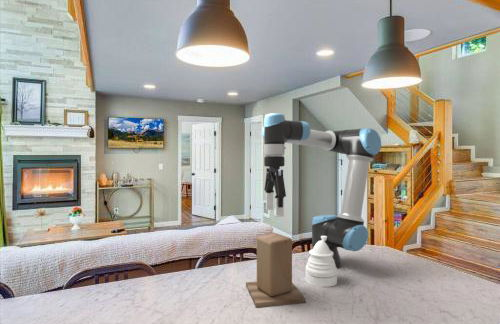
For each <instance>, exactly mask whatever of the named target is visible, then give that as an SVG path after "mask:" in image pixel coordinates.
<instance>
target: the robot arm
mask: <svg viewBox="0 0 500 324" xmlns="http://www.w3.org/2000/svg"><path fill="white" fill-rule="evenodd" d="M261 136H262V139H263V140H264V143H263V155H265V156H264V158H263V159H264V160H263V164H264V166H265V167H266V175H265V182H264V191H265V210H266V211H270V210H272V211H273V210H274V199H275V217H284V216H285V215H284V212H285V209H284V208H285V207H284V204H285V202H284V200H285V198H286V197H287V193H286V187H285V179H284V170H283V169H281V167H284V166H285V162H286V161H285V156H284V155H285V150H286V146H285V143H286V144H292V145H299V146H307V147H314V148H321V149H322V150H324V151H327V152H333V153H336V154H337V153H338V154H343V155H345V157H346V158H347V160H348V166H347V173H346V176H345V185H344V191H343V196H342V197H343V198H342V203H341V205H342V206H341V212H340V213H339V214H338V215H335V214H321V215H316V216H314V217H312V221H311V222H312V224H311V243H312V244H311V249H313V247H314V246H315V244H316V243H317V242H318V241H320V240H322V239H321V236H327V239H326V241H324V242H325V243H326V244H327V245H328V247H329V249H330V251H332V252H333V253H334V254H333V256H332V257H333V259H334V261H335V265H336V268H337V269H338V268H340V267H341V266H342V259H341V256H340V254H339V249H338V248H341V249H344V250H346V251H351V252H358V251H360V250H362V249H363V247H365V245H366V243H367V241H368V238H369V232H368V228H367V227H366V226H365V225H364V224H365V220H364V218H363V217H362V212H363V204H364V201H365V199H364V198H365V194H366V193H365V192H366V188H367V187H366V186H367V185H366V184H367V179H368V172H369V166H370V165H369V164H370V163H372V162H373V160H374V158H375V157H374V156H376V155H378V154H379V153H380V152H381V149H382V140H381V136H380V135H379V133H378V131H376V130H375V129H374V128H366V127H362V128H356V129H343V130H326V131H321V130H318V129H317V130H316V129H311V125H310V124H309V123H308V122H306V121H303V120H287V119H286V118H285V114H283V113H277V112H276V113H275V112H274V113H268V114H265V116H264V121H263V127H262V130H261ZM274 190H275V191H274ZM274 193H275V196H274ZM309 257H310V254H309V255H308V259H309ZM308 259H307V260H308Z"/></svg>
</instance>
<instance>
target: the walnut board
mask: <svg viewBox="0 0 500 324" xmlns="http://www.w3.org/2000/svg"><path fill="white" fill-rule="evenodd" d="M245 287H246V290H247V292H248V294H249V296H250V298H251V300H252V302H253V304H254V306H255V308H263V307H274V306H284V305H285V306H286V305H294V304H304V303H306V301H307V299H306V297H305V296H304V294H302V292H301V291H300V290H299V289H298V287H297V286H296V285H295V284H294V282H292V290H291V291H290V292H286V293H283V294H279V295H276V296H269V295H268V294H266V293H265V292H263V291H261V290H260V289H258V288H257V281H249V282H245Z"/></svg>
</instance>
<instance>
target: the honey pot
mask: <svg viewBox="0 0 500 324" xmlns="http://www.w3.org/2000/svg"><path fill="white" fill-rule="evenodd" d="M321 239H322V240H320V241H318V242H317V243H316V244H315V246H314V247H313V249H312V248H311V249H310V250H309V251H308V254H309V255H310V257H309V256H308V258H309V259H307V262H306V265H305V276H304V277H305V281H306V283H308V284H309V285H311V286H314V287H321V288H322V287H323V288H328V287H333V286H335V285H337V284H338V268H336V265H335V261H334V259H333V257H332V256H333V254H334V253H333V252H332V251H330V249H329V247H328V245H327V244H326V243H325V242H324V241H326V239H327V236H321Z"/></svg>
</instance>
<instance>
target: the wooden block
mask: <svg viewBox="0 0 500 324" xmlns="http://www.w3.org/2000/svg"><path fill="white" fill-rule="evenodd" d="M256 282H257V288H258V289H260V290H261V291H263V292H265V293H266V294H268V295H269V296H276V295H279V294H283V293H286V292H290V291H291V290H292V283H293V240H292V238H291V237H288V236H285V235H282V234H279V233H270V234H264V235H259V236H257V237H256Z"/></svg>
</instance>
